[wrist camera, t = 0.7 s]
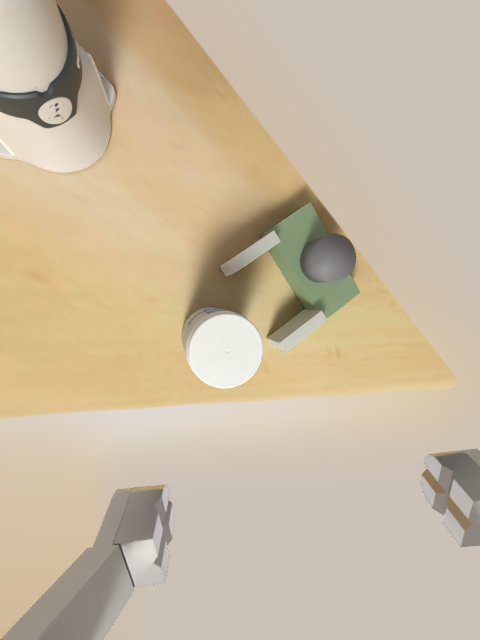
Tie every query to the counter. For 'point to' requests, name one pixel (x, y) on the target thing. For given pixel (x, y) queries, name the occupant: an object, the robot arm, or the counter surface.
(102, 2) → the counter surface
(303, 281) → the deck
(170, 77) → the counter surface
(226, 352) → the supplement tub
